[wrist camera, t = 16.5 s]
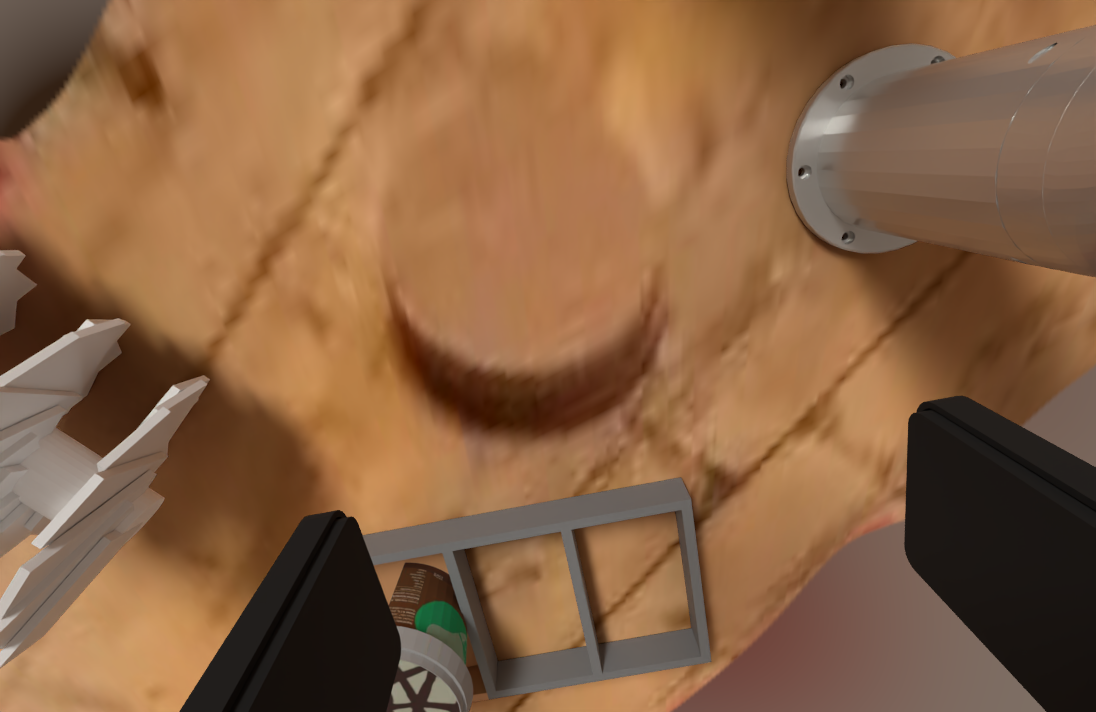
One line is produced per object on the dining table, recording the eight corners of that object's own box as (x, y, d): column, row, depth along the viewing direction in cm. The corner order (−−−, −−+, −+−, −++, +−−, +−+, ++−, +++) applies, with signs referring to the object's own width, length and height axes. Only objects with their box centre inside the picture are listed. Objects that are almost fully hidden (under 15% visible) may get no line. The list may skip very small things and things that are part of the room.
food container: (486, 657, 50) (476, 774, 40) (418, 660, 49) (391, 778, 40) (477, 544, 45) (463, 645, 36) (402, 547, 45) (368, 649, 36)
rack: (680, 477, 44) (691, 499, 41) (701, 633, 50) (711, 661, 47) (335, 540, 45) (322, 565, 42) (392, 686, 51) (384, 717, 48)
